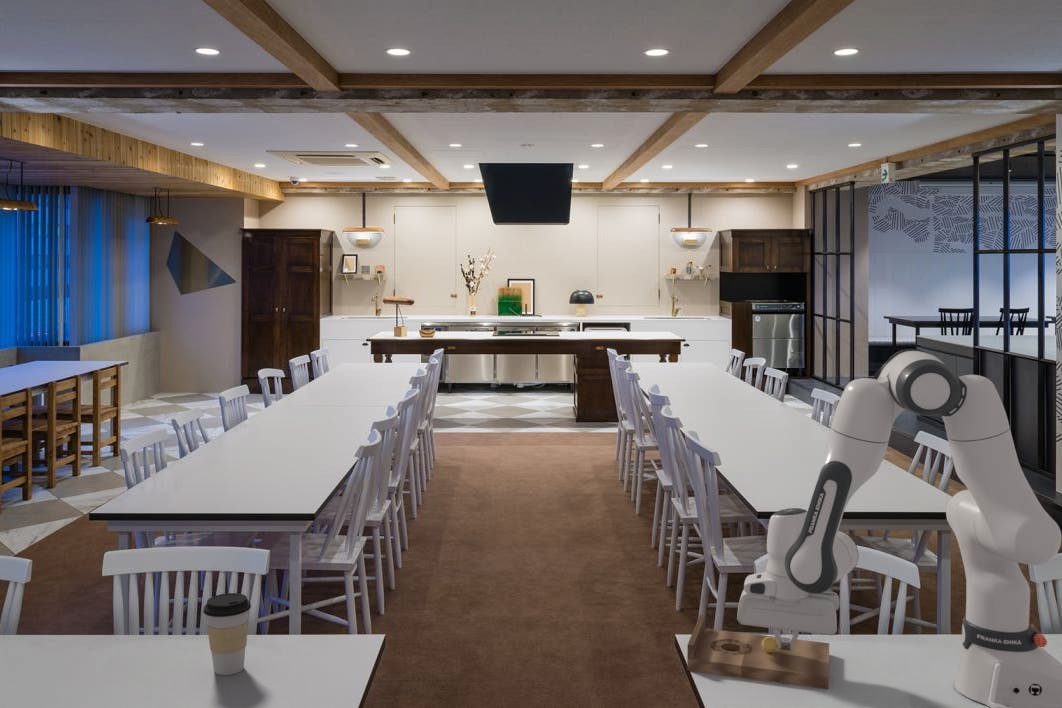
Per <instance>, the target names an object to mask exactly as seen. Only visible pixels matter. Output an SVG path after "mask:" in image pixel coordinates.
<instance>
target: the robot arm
mask: <svg viewBox="0 0 1062 708" xmlns="http://www.w3.org/2000/svg"><path fill="white" fill-rule="evenodd" d="M905 410H908V412H911V413H913V414H915V415H918V416H919V415H920V416H927V417H941V419H942V421H943V422H944V429H945V431H946V432H945V433H946V437H947V440H948V447H949V449H950V454H951V457H952V461H953V465H954V466H953V467H954V470H955V473H956V475H957V477H958V478H959V480H960V481H961V482H962V483H963V484H964V486H965V487H966V488H967V489H963V490H960V491H958V492H957V493H956V494H954V495H953V496H952V497H951V498H950V500H949V501H948V503H947V506H946V511H945V515H946V517H945V518H946V521H947V524H948V525H949V526H950V528H951V529H952V531H953V534H954V535H955V538H956V541H957V544H958V546H959V547H958V548H959V550H960V555H961V558H962V559H961V560H962V563H963V567H964V572H965V573H964V574H965V579H966V581H965V582H966V584H965V585H966V588H965V591H966V594H965V595H966V598H965V601H966V602H965V615H964V616H963V622H962V624H961V625H962V626H961V643H962V646H963V648H962V655H961V659H960V660H961V661H960V665H959V668H958V670H957V671H958V672H957V675H956V678H955V680H954V683H953V686H954V687H955V689H956V690H957V691H958V692H959V693H960V694H961V695H963V696H965V697H966V698H968V699H970V700H973V701H975V702H978V703H981V704H983V705H985V706H987V707H988V708H1062V663H1061V661H1059V660H1058V659H1056V658H1055V657H1054V656H1053V655H1052V654H1050V653H1049V652H1048V651H1047V650H1045V649H1044V648H1045V647H1046V646H1047V644H1048V641H1047V639H1046V637H1045V635H1043V634H1042V633H1041V632H1040V630H1039V629H1037V628H1036V626H1035V625H1034V624H1030V608H1031V607H1030V606H1031V588H1030V584H1029V582H1028V581H1027V579H1026V577H1025V576H1024V574H1023V572H1022V570H1021V568H1020V565H1019V564H1024V565H1031V566H1039V565H1045V564H1047V563H1048V562H1050V561H1051V560H1053V559H1054V558H1055V556H1056V555H1057V554H1058V552H1059V551H1060V548H1061V544H1062V531H1061V529H1060V526H1059V525H1058V523H1057V522H1056V521H1055V519H1053V518H1052V516H1051V515H1050V514H1049V513H1048V512H1047V511H1046V510H1045V509H1044V507H1043V506H1042V505H1041V503H1040V501H1039V499H1038V498H1037V496H1036V494H1035V493H1034V490H1033V488H1032V487H1031V485H1030V484H1029V482H1028V481H1029V480H1027V478H1026V476H1025V474H1024V471H1023V470H1022V467H1021V464H1020V462H1019V458H1018V454H1017V451H1016V448H1015V443H1014V439H1013V436H1012V432H1011V431H1012V430H1011V428H1010V424H1009V420H1008V416H1007V412H1006V410H1005V406H1004V404H1003V402H1002V399H1001V397H1000V395H999V392H998V391H997V388H996V386H995V384H994V383H993V382H992V381H991V379H989V378H987V377H985V376H982V375H979V374H964V375H961V376H958V375H957V374H956V373H955V372H954V371H953V370H952V369H951V368H950V367H948V365H946V364H945V363H944V362H943V361H942V360H940V359H939V358H938V357H936V356H935V355H932V354H930V353H928V352H927V351H925V350H923V349H922V350H921V349H917V348H907V349H906V348H905V349H901V350H899V351H897V352H895V353H894V354H893V355H891V356H890V357H889V359H887V361H885V363H884V364H882V366H881V367H880V368H878V370H877V371H876V372H875V373H874V375H873V378H870V377H869V378H868V377H861V378H856V379H853V380H851V381H850V382H849V383H848V384H846V386H845V387H844V389H843V391H842V394H841V396H840V399H839V401H838V403H837V406H836V409H835V411H834V413H833V417H832V422H831V425H830V429H829V433H828V438H827V442H826V446H825V452H824V455H823V460H822V463H821V467H820V470H819V475H818V478H817V481H816V484H815V487H814V490H813V493H812V496H811V499H810V502H809V506H808V509H803V508H798V507H795V508H794V507H792V508H790V507H789V508H786V509H780V510H778V511H776V512H774V513H773V514H772V515H771V516H770V518H769V522H768V527H767V536H766V552H767V556H768V559H767V560H768V561H767V564H766V566H765V567H766V569H765V571H763V572H757V573H752V574H748V575H747V576H746V578H745V580H744V583H743V590H742V591H741V595H740V598H739V602H738V606H737V615H736V616H737V617H736V620H737V621H738V623H739V624H740V625H743V626H750V627H751V626H752V627H760V628H767V629H773V631H772V632H773V634H774V637H776V639H777V640H778V641H779V645H778V649H783V650H790V651H793V643H794V642H795V640H796V639H797V640H798V639H799V638H798V637H799V633H800V632H801V633H808V634H809V633H810V634H816V635H825V636H834V635H835V634H836V633H837V631H838V625H837V624H838V621H837V620H838V619H837V611H838V610H839V608H840V600H841V599H840V597H839V595H838V593H836V591H835V592H834V591H833V590H832V589H830V588H831V587H832V586H834V584H835V583H836V582H838V581H839V580H840V579H842V578H844V577H845V576H846V575H848V574H849V573H850V572H851V571H853V570H854V569H855V568H856V566H857V564H858V562H859V550H858V546H857V544H856V542H855V540H853V538H852V536H850V535H849V534H847V533H846V532H845V531H842V530H839V529H840V526H841V523H842V519H843V517H844V516H843V515H844V513H845V510H846V507H847V505H848V503H849V501H850V500H851V499H852V497H853V496H854V494H855V493H856V492H857V491H858V490H859V489H860V488H861V487H862V486H863V485H864V484H865V483H867V482H868V481H869V480H871V478H872V477H874V475H876V474H877V472H878V470H879V468H880V467H881V464H882V462H883V460H884V458H885V455H886V452H887V449H888V445H889V442H890V437H891V433H892V428H893V427H892V426H893V425H894V423H895V421H896V419H897V418H898V417H899V415H900V414H901V413H902V412H904V411H905ZM781 630H782V631H783V630H785V631H791V637H790V638H789V639H790V640H788V639H782V638H783V637H782V636H781Z"/></svg>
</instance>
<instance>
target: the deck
mask: <svg viewBox="0 0 1062 708" xmlns="http://www.w3.org/2000/svg"><path fill="white" fill-rule="evenodd" d="M693 628H694V629H693V631H692V632H691V635H690V638H689V641H688V643H687V656H686V658H687V659H686V661H687V662H686V664H687V665H686V667H687V670H686V671H690V672H697V673H704V674H711V675H717V676H718V675H719V676H727V677H735V678H740V679H741V678H742V679H749V680H758V681H765V682H771V683H780V684H787V685H793V686H802V687H809V688H811V687H812V688H818V689H824V690H830V689H829V687H830V686H829V683H830V682H829V680H830V643H829V642H821V641H812V640H804V639H798V638H797V639H796V640H795V642H794V643H793V651H790V650H783V649H778V645H779V641H778V640H777V639H776V637H775V636H770V635H763V634H753V633H746V632H737V631H729V630H720V629H719V630H718V629H713V628H706V615H703V614H700V615H698V618H697V621H696V624H695V626H694V627H693ZM766 637H772V638H774V639H775V640H776V641H777V649H776V650H775V651H774V652H772V653H769V652H766V651H765V650H764V649H763V647H762V641H763V640H764V638H766ZM782 639H788V640H790V639H791V638H787V637H782Z"/></svg>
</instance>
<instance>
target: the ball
mask: <svg viewBox="0 0 1062 708" xmlns="http://www.w3.org/2000/svg"><path fill="white" fill-rule="evenodd" d="M772 637H773V636H772ZM772 637H766V638H764V640H763V641H762V647H763V649H764V650H765V651H766V652H769V653H772V652H774V651H775V650H776V649H777V641H776V640H775V639H774V638H772Z"/></svg>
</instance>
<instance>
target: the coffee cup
mask: <svg viewBox="0 0 1062 708" xmlns="http://www.w3.org/2000/svg"><path fill="white" fill-rule="evenodd" d="M247 597H248V596H247V595H245V594H243V593H237V592H229V593H228V592H227V593H222V594H216V595H214V596H211V597H210V598H208V599H207V601H206V604H204V607H203V610H202V611H203V612H202V613H203V614H204V615H206V619H207V623H206V626H207V634H208V636H207V637H208V641H209V648H210V652H211V656H212V657H211V658H212V659H211V660H212V665H213V671H214V673H215V674H216V675H218V676H231V675H236V674H238V673H240V672H242V671H243V670H244V668H245V667H244V666H245V657H246V647H247V642H248V641H247V640H248V629H249V610H250V609H251V608H252V604H251V601H250V600H249V599H248V598H247Z"/></svg>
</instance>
